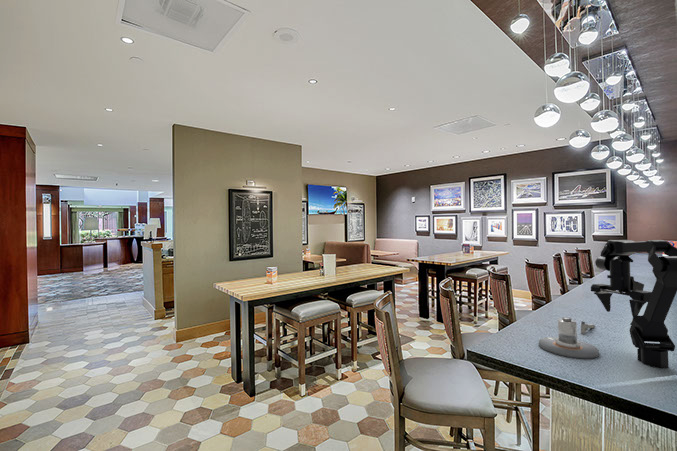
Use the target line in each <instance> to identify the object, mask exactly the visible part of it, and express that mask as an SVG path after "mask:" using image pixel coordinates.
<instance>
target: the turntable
mask: <svg viewBox="0 0 677 451" xmlns="http://www.w3.org/2000/svg"><path fill="white" fill-rule="evenodd" d="M556 338H558V336H547V337H542V338H540V339H539V340H538V345H539V347H540V348H541V349H543V350H545V351H547V352H549V353H551V354H555V355H559V356H563V357H568V358H575V359H594V358H595V359H596V358H597V357H599V356H600V350H599V349H598V347H597V346H595V345H592V344H591V343H588V342H585V341H582V340H578V339H577V341H579V342H580V343H581V348H580V349H568V348H563V347H560V346H558V345H556V344H555V339H556Z"/></svg>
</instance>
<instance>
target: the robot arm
mask: <svg viewBox="0 0 677 451" xmlns="http://www.w3.org/2000/svg"><path fill="white" fill-rule="evenodd" d="M637 253H647V254H648V256H647V262H648V263H649V264H650V266H651V267H652V274H653V275H654V277H655V282H654V286H653V289H652V290H651V291H647V290H644V287H645V284H644V283H641V282H640V281H636V280H635V278H634V276H632V275H631V263H634V260H633V258H631V257H630V255H635V254H637ZM658 253H659V254H660V253H662V254H664V255H666V256H664V255H662V256H658ZM594 263H595V266H596V267H597V268H598V269H599V270H602V271H608V272H609V275H608V274H607V275H606V276H607V277H606V278H607V279H609V284H605V283H593V284H591V286H590V291H591V292H593V294H594V295H596V297H597V298H598V300H599V301H600V303H601V304H602V306H603V308H604V309H605V310H606V312H609V313H610V312H611V297H612V296H613V294H617V295H622V296H629V297H630V298H631V299H629V306H630V310H631V311H630V312H631V316H632V319H631V323H630V327H629V334H630V335H629V336H630V339H631V342H632V345H633V346H634V347H635V348H637V350H636V351H637V352H636V353H637V361H639V362H641V364H643V365H645V366H648V367H652V368H657V369H660V370H664V369H669V352H674V351H675V350H676V349H675V348H676V345H675V343H674V342H673V340H672V338H671V336H670V335H669V334H668V332H669V329H668V327H667V325H666V323H665V320H666V318H667V316H668V314H669V311H670V310H671V307H672V304H673V302H674V300H675V297H676V295H677V247H676V246H674V245H672V244H671V243H670V242H669V241H668V240H665V239H650V240H649V239H648V240H644V241H643V240H642V241H641V240H640V241H635V240H631V239H609V240H607V241H606V243H605V245H604V246H603V248H602V250H601V251H600V256H598V257H597V258H596V260H595V261H594ZM646 303H647V304H646ZM645 304H646V307H645V309H644V312H643V313H642V315H639V314H640V312H641V309H642V308H643V307H644V305H645Z"/></svg>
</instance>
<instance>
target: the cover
mask: <svg viewBox="0 0 677 451" xmlns="http://www.w3.org/2000/svg"><path fill="white" fill-rule="evenodd" d="M557 334H558V335H557V337H558V338H556V339H555V344H556V345H558V346H560V347H563V348H568V349H580V348H581V343H580V342H579V341H580V340H578V331H577V321H576V320H573V319H572V318H571V317H567V316H566V317H562V318H558V319H557ZM577 340H578V341H577Z"/></svg>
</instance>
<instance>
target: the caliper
mask: <svg viewBox="0 0 677 451" xmlns="http://www.w3.org/2000/svg"><path fill="white" fill-rule="evenodd" d="M595 327H596V326H595V324H591V323H589V324H587V323H586V321H584V320H583V321H581V323H580V335H585V334H586V333H587V332H586V331H589V329H594V328H595Z"/></svg>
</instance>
